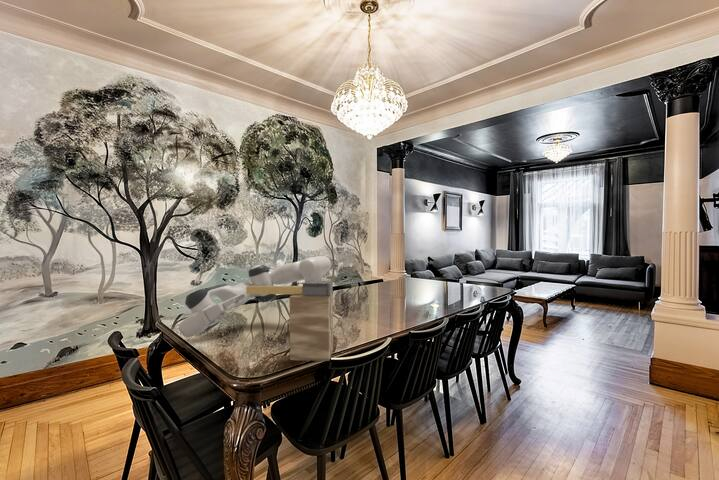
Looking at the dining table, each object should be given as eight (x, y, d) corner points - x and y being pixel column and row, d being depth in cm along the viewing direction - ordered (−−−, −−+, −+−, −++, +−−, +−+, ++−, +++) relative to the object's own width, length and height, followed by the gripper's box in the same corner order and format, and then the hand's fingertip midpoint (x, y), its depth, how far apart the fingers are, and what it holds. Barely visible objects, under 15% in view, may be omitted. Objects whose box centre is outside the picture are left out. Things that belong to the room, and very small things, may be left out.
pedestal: (297, 349, 143) (297, 291, 143) (333, 350, 142) (332, 291, 142) (290, 360, 131) (289, 297, 131) (328, 360, 130) (328, 297, 130)
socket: (307, 292, 140) (306, 280, 140) (332, 292, 139) (332, 280, 139) (302, 296, 132) (302, 283, 132) (329, 296, 132) (329, 283, 132)
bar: (249, 292, 139) (249, 285, 139) (303, 292, 138) (303, 286, 138) (246, 293, 136) (246, 286, 136) (301, 294, 135) (301, 287, 135)
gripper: (228, 313, 149) (253, 298, 148) (204, 326, 129) (233, 309, 127) (221, 301, 149) (246, 286, 148) (196, 312, 129) (225, 295, 128)
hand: (240, 297), depth 138 cm, fingers open, 8 cm apart
